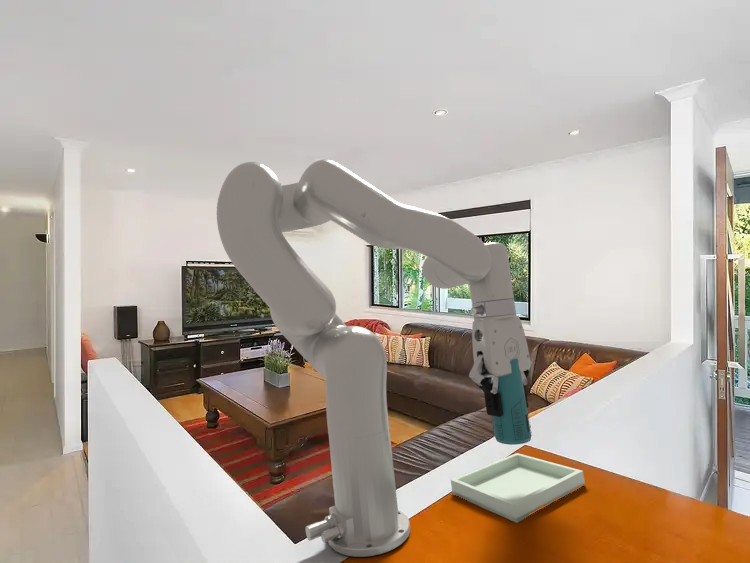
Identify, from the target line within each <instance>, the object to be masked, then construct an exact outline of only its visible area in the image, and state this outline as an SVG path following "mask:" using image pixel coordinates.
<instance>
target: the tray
mask: <svg viewBox="0 0 750 563" xmlns="http://www.w3.org/2000/svg"><path fill="white" fill-rule="evenodd" d="M450 484H451V493H452V495H453V496H455V495H456V497H457V496H459V497H458V498H460V497H461V498H460V499H462V498H463V499H462V500H464V499H465V500H464V501H466V500H467V502H468V503H470V504H473V505H475V506H478V507H480V508H482V509H485V510H487V511H488V512H491V513H494V514H495V515H498V516H501V517H502V518H505V519H507V520H510V521H512V522H513V523H516V524H517V523H519V522H522V521H524V520H525V519H527V518H528V517H527V516H528V515H529V514H530V513H532V512H534V511H536V510H537V509H539V508H541V507H542V506H545V505H547V504H549V503H551V502H552V501H554V500H556V499H558V498H560V497H563V496H565V495H567V494H568V493H570V492H571V491H573V490H575V489H576V488H578V487H580V486H581V485H583V484H585V485H586V482H585V475H584V471H583V469H582V470H581V469H577V468H574V467H570V466H567V465H563V464H559V463H555V462H552V461H549V460H548V461H547V460H544V459H541V458H537V457H533V456H529V455H526V454H522V453H518V452H516V453H514V454H511V455H508V456H506V457H504V458H501V459H498V460H497V461H494V462H491V463H489V464H486V465H484V466H481V467H479V468H476V469H474V470H471V471H469V472H467V473H464V474H461V475H460V476H456V477H454V478H451V479H450ZM567 496H568V495H567ZM565 497H566V496H565ZM526 517H527V518H526ZM524 518H525V519H524Z"/></svg>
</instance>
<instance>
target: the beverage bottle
mask: <svg viewBox="0 0 750 563" xmlns="http://www.w3.org/2000/svg"><path fill="white" fill-rule="evenodd" d="M518 362H519V360H518V359H514V358H513V359H512V360H511V361H510V364H511V371H512V373H510V374H509V375H507V376H502V377H499V380H498V389H497V393H500V395H501V402H502V409H503V416H501V417H497V416H490V418H491V422H492V431H493V434H494V435H493V437H494V438H495V440H496V441H497V443H500V444H503V445H515V446H516V445H523V444H526V443H529V442H530V441H531V440H532V436H533V434H532V427H531V424H530V420H531V419H530V414H529V412H528V410H529V405H528V406H527V404H526V403H527V402H526V400H528V398H527V399H525V398H526V397H525V393H524V387H523V385H524V384H523V382H522V376H521V371H520V369H519V364H518ZM487 372H488V371H487ZM488 374H490V373H489V372H488ZM489 383H490V384H491V379H490V378H489ZM524 386H525V385H524ZM527 407H528V408H527Z"/></svg>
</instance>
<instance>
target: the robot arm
mask: <svg viewBox="0 0 750 563" xmlns="http://www.w3.org/2000/svg"><path fill="white" fill-rule="evenodd" d="M217 198H218V199H217V203H216V205H217V206H216V224H217V230H218V234H219V238H220V242H221V245H222V247H223V249H224V251H225V253H226V255H227V257H228V259H229V260H230V261H231V263H232V264H233V266H234V267H235V269H236V270H237V271H238V273H239V274H240V275H241V276H242V277H243V278H244V279H245V281H246V282H247V283H248V284H249V286H250V287H251V288H252V289H253V291H254V292H255V293H256V294H257V295H258V297H260V299H261V300H262V301H263V302H264V303H265V304H266V305H267V306H268V307H269V311H270V312H269V313H270V317H271V320H272V322H273V324H274V326H275V327H276V329H277V330H278V331H279V333H280V334H282V336H284V338H285V339H286V340H287V341H288V342H289V343H290V344H291V346H292V347H294V349H295V350H296V351H297V352H298V353H299V354H300V355H301V356H302V357H303V359H305V361H306V362H307V363H308V364H309V365H310V366H311V367H312V368H313V369H314V370H315V371H316V372H317V373H318V374H319V375H320V376H322V378H325V388H326V391H325V396H326V397H325V398H326V400H325V401H326V402H325V403H326V404H325V405H326V406H325V407H326V423H327V434H328V444H329V454H330V461H331V462H330V463H331V464H330V465H331V473H332V475H331V476H332V486H333V495H334V496H333V497H334V498H333V499H334V505H333V506H329V509H328V510H329V515H326V516H325V517H324V519H323V520H320V521H316V522H313V523H311V524H308V525H306V526H305V529H304V530H305V535H306V539H307V541H310V542H311V541H312V540H313V541H314V540H315V539H317V538H321V541H322V543H328V545H329V547H331V548H332V549H333V550H334V551H335V552H336V553H339V554H341V555H344V556H347V557H356V558H358V557H359V558H363V557H364V558H366V557H374V556H377V555H383V554H385V553H388V552H390V551H392V550H394V549H396V548H398V547H399V546H401V545H402V544H403V543H405V541H407V539H408V538H409V536H410V533H411V524H410V519H409V518H408V516H407V515H406V514H405V513H404V512H402V511H401V510H399V508H398V498H397V497H398V496H397V490H396V489H397V488H396V480H395V469H394V462H393V461H394V459H393V452H392V442H391V432H390V424H389V423H390V421H389V416H388V415H389V413H388V402H387V400H388V399H387V375H388V361H387V354H386V350H385V348H384V344H383V343H382V342H381V340H380V338H379V337H378V336H377V335H376V334H375V333H374V332H373V331H371V330H369V329H368V328H365V327H362V326H356V325H346V323H345V322H343V320H342V318H340V317H339V316H338V314H337V313H336V311H337V303H336V298H335V296H334V294H333V292H332V291H331V290H330V289H329V287H328V286H327V285H326V284H325V283H324V282H323V281H322V280H321V279H320V278H319V277H318V275H316V273H315V272H314V271H313V270H312V269H311V268H310V266H308V264H307V263H306V262H305V261H304V260H303V259H302V257H300V256H299V254H298V253H297V252H296V251H295V250H294V248H293V247H292V246H291V244H290V243H289V241H288V240H287V239H286V237H285V236H284V234H283V233H287V232H291V231H298V230H303V229H309V228H312V227H313V228H314V227H317V226H320V225H323V224H326V223H328V222H330V221H331V222H333V223H335V224H336V225H339V226H340V227H342V228H343V229H345V230H346V231H348V232H350V233H351V234H353V235H355V236H356V237H357V238H360V240H363V241H364V242H366V243H367V244H368V245H371V246H373V247H378V248H381V249H382V248H383V249H391V250H394V249H395V250H406V251H411V252H413V253H414V252H415V253H418V254H420V255H423V256H425V257H426V258H425V259H424V261H423V264H422V275H423V277H424V279H425V280H426V282H428V283H429V284H430V285H431V286H432V287H435V288H438V289H447V290H448V289H452V288H458V287H460V286H465V285H468V286H469V292H470V299H471V301H470V302H471V309H470V313H471V314H472V316H473V321H472V330H471V338H472V340H471V341H472V355H473V365H472V367H471V370H470V372H469V374H468V377H469V379H470V380H472V381H473V382H474V383H475V384H476V386H477V387H478V388H479V390H480V391H481V393H483V395H484V402H485V409H486V414H487V415H488V416H490V417H492V416H497V417H501V416H503V409H502V402H501V395H500V393H497V389H498V380H499V377H502V376H507V375H509V374H510V373H512V371H511V364H510V361H511V360H512V359H513V358H514V359H518V360H519V362H518V364H519V369H520V371H521V376H522V382H523V384H524V385H523V387H524V393H525V397H526V398H525V399H527V400H526V402H527V403H526V404H527V406H528V407H527V408H528V409H529V402H528V394H527V387H526V385H528V379H527V378H528V376H529V374H530V369H531V367H532V365H533V361H532V360H531V357H530V351H529V347H528V342H527V339H526V338H527V337H526V334H525V331H524V327H523V326H524V325H523V323H522V320H521V319H520V316H519V315H517V309H516V303H515V302H516V301H515V297H514V291H513V282H512V275H511V269H510V262H509V254H508V250H507V247H506V245H504V244H503V243H501V242H486V243H484V241H482V239H480V238H479V237H478V235H475V234H474V233H473V232H471V231H470V230H468V229H467V228H465V227H464V226H463V225H461V224H459V223H458V222H456V221H454V220H453V219H451V218H448V217H447V216H444V215H442V214H439V213H437V212H433V211H429V210H425V209H422V208H419V207H416V206H411V205H407V204H404V203H401V202H398V201H397V200H395V199H393V198H392V197H391V196H390V195H387V194H386V193H384V192H383V191H381V190H379V188H376V187H375V186H374V185H372V184H370V183H369V182H367V181H366V180H364V179H362V178H361V177H360V176H358V175H357V174H355V173H353V172H352V171H351V170H349V169H348V168H346V167H344V166H343V165H341V164H340V163H338V162H335V161H334V160H330V159H319V160H316V161H314V162H313V163H312V164H310V165H309V166H308V167H307V168H306V169H305V170H304V171H303V173H302V175H301V177H300V178H299V181H298V182H294V183H290V184H285V185H284V184H283V185H282V183H281V181H280V179H279V178H278V176H277V175H276V174H275V172H274V171H273V170H272V169H271V168H270V167H268V166H266V165H265V164H263V163H260V162H256V161H246V162H243V163H242V162H241V163H240V164H238V165H236V166H235V167H234V168H233V169H232V170H231V171H230V172H229V173H228V174H227V176H226V178H225V179H224V181H223V183H222V186H221V188H220V191H219V195H218V197H217ZM487 371H488V372H489V373H490V374H488V372H487ZM489 378H490V379H491V384H490V383H489Z"/></svg>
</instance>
